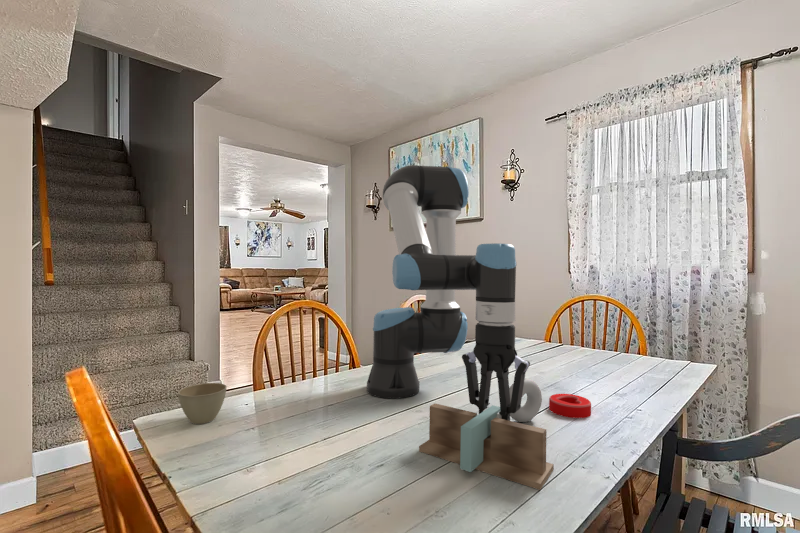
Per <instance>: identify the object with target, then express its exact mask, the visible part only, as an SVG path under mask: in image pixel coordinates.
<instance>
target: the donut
mask: <svg viewBox="0 0 800 533" xmlns="http://www.w3.org/2000/svg"><path fill="white" fill-rule="evenodd" d="M513 384H514V382H513V383H512V384H511V385H510V386H509V391H510V402H511V397H512V390H513ZM524 395H526V401H525V403H524V405H521V406H520V409H519V410H518V411H517V412H515V413H510V418H511V419H512V420H514V421H515V422H517V423H527V422H530V421H531V420H533V419H534V418H535V417H536V416H537V414H538V413H539V412H540V409H541V407H542V402H543V396H542V395H543V394H542V390H541V388H540V386H539V385H538V383H536V381H534V380H532V379H531V378H525V379H524V386H523V393H522V398H523V396H524Z"/></svg>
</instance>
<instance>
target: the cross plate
mask: <svg viewBox="0 0 800 533" xmlns="http://www.w3.org/2000/svg"><path fill="white" fill-rule="evenodd" d="M488 407H489V408H488ZM488 407H487V408H488V409H486V410H485V411H483V412H482V413H480V414H479V413H478V414H477V416H476V417H474V418H473V419H471V420H470V421H468V422H467V423H465V424H464V425H462V426H461V449H460V464H459V469H460V470H463V471H466V472H468V473H472V472H474V470H476V469H475V468H476V467H477V466H478V465H480V464H481V463H482V462H483V447H484V439H486V438H487V437H488V436H489V435H491V420H492V419H494V418H495V417H496V418H497V413H498V412H500V406H497V405H495V404H494V405H493V404H492V405H491V406H488Z"/></svg>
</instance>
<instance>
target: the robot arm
mask: <svg viewBox="0 0 800 533" xmlns="http://www.w3.org/2000/svg"><path fill="white" fill-rule="evenodd" d="M387 178H388V179H387V180H386V182H385V184H384V185H383V189H382V200H383V204H384V207H385V208H386V210H388V211H389V215H390V220H391V225H392V229H393V233H394V234H393V235H394V238H395V242H396V248H397V251H398V254H396V255H395V256H394V257H393V260H392V269H391V270H392V283H393V285H394V287H395V288H396V289H398V290H408V291H409V290H410V291H425V300H424V301H423V303H422V304H421V305H420V312H415V311H416V310H415V309H414V308H413V307H409V306H408V307H395V308H388V309H383V310H381V311H378V312H377V313H376V314H374V318H373V326H372V331H373V343H372V344H373V346H372V348H373V350H372V358H373V360H372V366H371V369H370V372H369V375H368V378H367V381H366V392H367V393H368V394H369V395H372V396H374V397H378V398H384V399H403V398H409V397H413V396H415V395H417V394H418V393H420V380H419V378H418V377H419V376H418V373H417V370H416V367H415V364H414V362H415V361H414V360H415V356H414V355H415V354H425V353H428V354H433V353H442V354H447V353H453V352H454V353H456V352H458V351H460V350H461V349H462V348H463V346H464V345H465V343H466V340H467V336H468V321H467V320H468V318H467V315H466V313H464V312H463V311H461V306H460V304H459V303H457V301H456V291H458V290H459V291H465V290H467V291H469V290H471V291H472V290H473V291H475V320H476V321H477V322H478V323H476V324H475V326H474V327H475V334H474V335H475V346H474V347H473V350H472V351H471V352H466V353H463V354H462V355H461V358H462V361H463V364H464V366H465V372H466V382H467V392H468V399H469V400H468V401H469V403H470V404H471V405H474V406H475V407H477V409H478V415H479V414H480V413H482V412H483V411H485V410H486V409H488V408H489V407H490V406H489V405H490V404H491V403H490V402H489V401H490V393H491V385H492V384H491V383H492V374H493V372H495V374H496V375H495V376H496V378H497V387H498V398H499V407H500V412H498V413H497V418H500V419H504V420H508V421H511V416H510V413H515V412H517V411H518V410H519V409H520V406H521V407H522V398H523V397H522V393H523V386H524V379H526V378H525V377H526V373H527V371H528V369H529V367H530V365H531V362H530V361H529V360H526V359H525V360H524V359H523V358H522V357H520V356H518V352H517V350H516V347H515V346H516V326H515V325H514V324H513V323H515V321H516V283H517V282H516V280H517V279H516V278H517V277H516V276H517V272H516V271H517V260H516V249H515V246H514V245H513V244H511V243H501V242H500V243H493V242H492V243H481V244H479V245H477V247H476V252H475V255H472V254H471V255H470V254H469V255H467V254H466V255H465V254H464V255H463V254H461V255H459V254H457V255H456V249H457V248H456V247H457V246H456V245H457V244H456V241H457V240H456V239H457V238H456V236H457V235H456V232H457V229H456V228H457V227H456V226H457V224H456V223H457V218H458V217H459V216H460V215H461V214H462V209H464V208H465V207H466V206H467V204H468V201H469V200H468V198H469V184H468V179H467V176H466V174H465V172H464V171H463V170H462V169H460V168H458V167H450V166H438V165H437V166H434V165H417V164H411V165H410V164H409V165H405V166H402V167H400V168H398V169H397V170H394V172H392V174H390V176H389V177H387ZM419 207H420V208H421V210H420V209H419ZM420 211H421V212H420ZM422 216H423V217H424V218H425V219H426V221H425V222H426V225H425V224H424V221H423V218H422ZM425 226H426V227H425ZM476 361H478V363H479V364H480V381H479V377H478V369H477V362H476ZM513 363H514V369H515V370H516V371H515V373H514V379H513V383H514V384H513V383H512V384H513V390H512V397H511V402H510V391H509V388H510V383H509V375H510V371H509V368H510V367H511V366H512V365H513ZM479 382H480V383H479ZM479 384H480V385H479Z"/></svg>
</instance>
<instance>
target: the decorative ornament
mask: <svg viewBox="0 0 800 533" xmlns="http://www.w3.org/2000/svg"><path fill="white" fill-rule="evenodd" d="M548 404H549V405H548V409H549V411H550V412H552V413H553V414H555V415H558V416H562V417H565V418H570V419H571V418H573V419H586V418H589V417H590V416H592V403H591V401H590V399H588V398H586V397H585V396H582V395H581V396H580V395H576V394H572V393H556V394H552V395H550V397H549V399H548Z"/></svg>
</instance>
